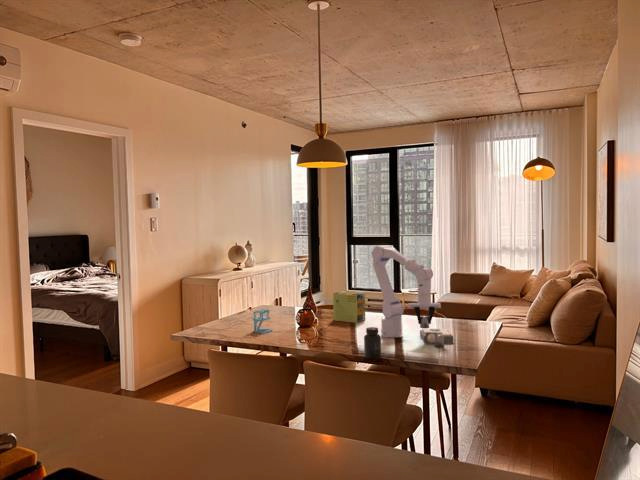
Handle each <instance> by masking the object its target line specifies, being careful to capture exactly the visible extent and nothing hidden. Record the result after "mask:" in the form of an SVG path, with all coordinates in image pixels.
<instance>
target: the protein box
mask: <svg viewBox="0 0 640 480" xmlns="http://www.w3.org/2000/svg"><path fill="white" fill-rule="evenodd" d="M332 295H333V298H332V301H333V302H332V303H333V309H332V310H333V312H332V313H333V321H338V322H346V323H355V324H357V323H360V322H363V321H365V320H366V292H361V291H360V292H359V291H343V290H341V291H337V292H334V293H333V294H332Z"/></svg>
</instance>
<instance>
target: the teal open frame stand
mask: <svg viewBox="0 0 640 480" xmlns="http://www.w3.org/2000/svg"><path fill="white" fill-rule="evenodd" d="M256 313H258V314H259V316H257V315H256ZM264 314H266V316H264ZM269 315H270V309H268V308H261V309H257V310H255V311H253V316H254V317H252V321H253V333H254V332H255V333H258V334H262V335H265V334H269V333H271V332H273V328H272V329H271V328H261V326H262V324H263V322H265V321H268V320H271V317H270V316H269ZM257 324H258V325H257Z"/></svg>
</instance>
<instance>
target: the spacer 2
mask: <svg viewBox="0 0 640 480" xmlns="http://www.w3.org/2000/svg"><path fill="white" fill-rule="evenodd" d="M434 348H437V349H443V348H445V343H444V335H439V334H438V335H435V344H434Z"/></svg>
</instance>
